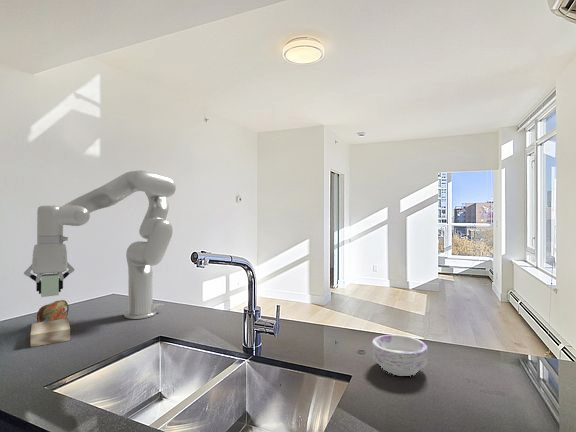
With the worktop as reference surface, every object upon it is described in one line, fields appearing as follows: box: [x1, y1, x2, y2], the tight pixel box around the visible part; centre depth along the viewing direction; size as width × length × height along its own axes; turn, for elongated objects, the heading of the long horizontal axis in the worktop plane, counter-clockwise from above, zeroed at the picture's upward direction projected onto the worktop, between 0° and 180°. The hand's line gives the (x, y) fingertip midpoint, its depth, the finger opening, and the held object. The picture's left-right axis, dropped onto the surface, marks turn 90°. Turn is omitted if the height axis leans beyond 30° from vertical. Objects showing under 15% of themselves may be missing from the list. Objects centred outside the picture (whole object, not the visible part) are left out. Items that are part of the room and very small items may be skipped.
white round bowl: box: [371, 334, 429, 375], centre depth 100 cm, size 15×15×8 cm
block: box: [40, 273, 60, 298], centre depth 122 cm, size 5×5×7 cm
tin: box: [36, 299, 69, 323], centre depth 137 cm, size 15×3×8 cm, turn 179°
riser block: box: [30, 317, 71, 348], centre depth 122 cm, size 11×14×4 cm
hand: (49, 291), depth 122 cm, fingers closed on block, 5 cm apart
